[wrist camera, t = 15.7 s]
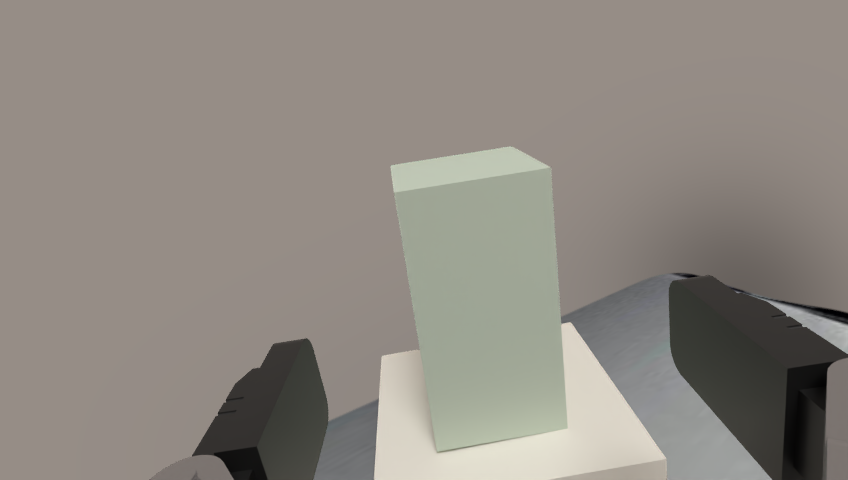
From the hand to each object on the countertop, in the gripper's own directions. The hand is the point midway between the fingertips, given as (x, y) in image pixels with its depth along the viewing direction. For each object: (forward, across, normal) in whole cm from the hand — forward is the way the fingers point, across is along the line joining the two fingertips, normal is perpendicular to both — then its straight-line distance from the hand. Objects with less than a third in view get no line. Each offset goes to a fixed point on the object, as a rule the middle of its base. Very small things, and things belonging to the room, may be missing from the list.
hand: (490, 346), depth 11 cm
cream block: (+9, 0, +10) cm, 14 cm away
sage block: (+8, 0, +7) cm, 11 cm away
